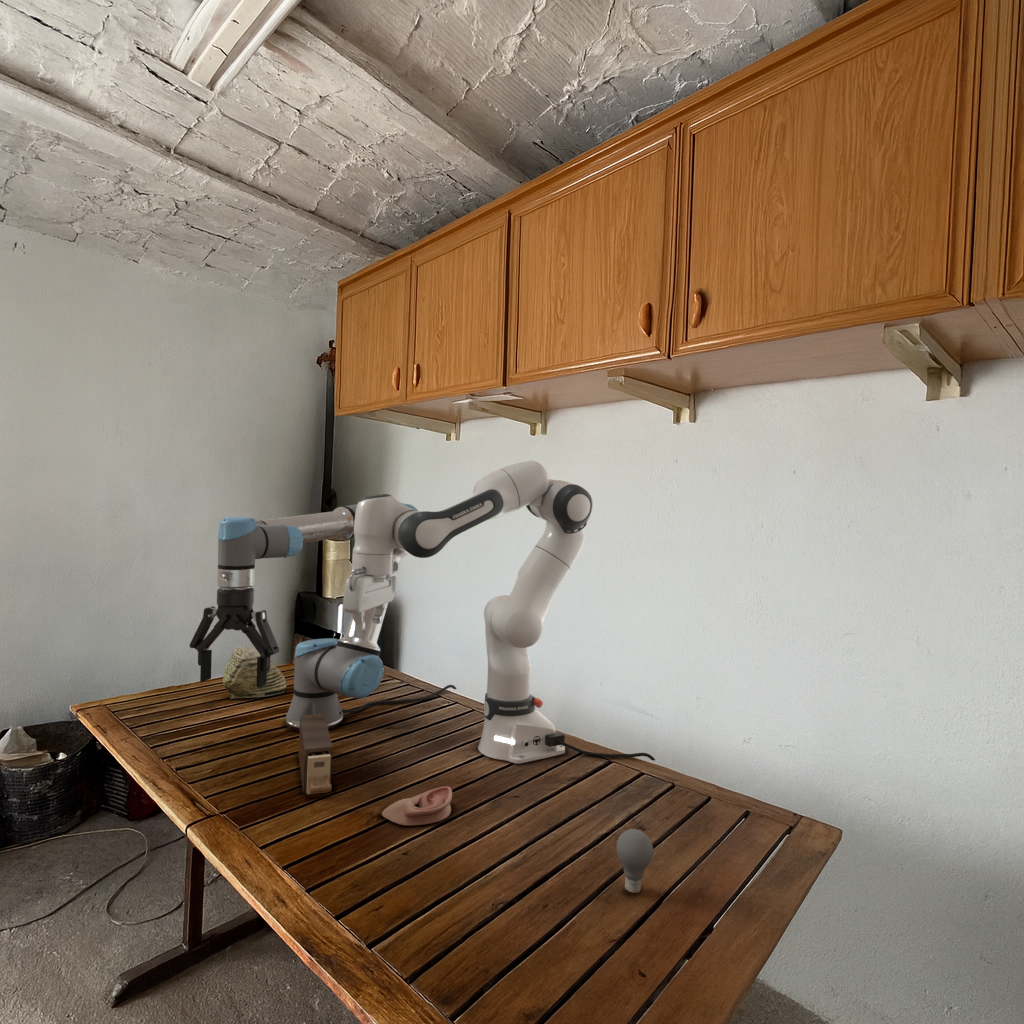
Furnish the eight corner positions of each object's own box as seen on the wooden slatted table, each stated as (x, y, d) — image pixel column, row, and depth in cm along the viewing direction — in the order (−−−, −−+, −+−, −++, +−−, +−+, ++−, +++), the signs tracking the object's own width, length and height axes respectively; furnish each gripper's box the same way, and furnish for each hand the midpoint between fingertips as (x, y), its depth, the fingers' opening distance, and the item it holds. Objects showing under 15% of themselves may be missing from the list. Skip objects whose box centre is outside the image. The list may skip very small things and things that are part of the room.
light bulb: (610, 879, 108) (613, 822, 108) (644, 879, 109) (647, 822, 109) (619, 902, 102) (622, 840, 102) (655, 901, 103) (658, 840, 103)
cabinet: (330, 790, 137) (332, 746, 137) (303, 793, 135) (304, 749, 135) (322, 751, 157) (324, 713, 157) (298, 753, 155) (299, 715, 155)
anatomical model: (375, 801, 124) (398, 776, 135) (375, 821, 124) (397, 795, 136) (440, 811, 122) (457, 785, 133) (439, 831, 122) (456, 803, 133)
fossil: (218, 695, 195) (220, 647, 195) (278, 685, 208) (279, 640, 207) (228, 703, 189) (230, 653, 188) (289, 692, 201) (290, 645, 201)
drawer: (331, 805, 128) (333, 768, 128) (308, 808, 127) (310, 770, 127) (321, 754, 153) (322, 722, 153) (302, 756, 152) (303, 724, 151)
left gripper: (173, 586, 138) (171, 682, 139) (278, 593, 134) (276, 693, 134) (196, 581, 145) (194, 673, 146) (296, 588, 141) (294, 682, 142)
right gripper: (365, 571, 132) (361, 637, 132) (401, 563, 152) (398, 620, 152) (337, 568, 133) (333, 634, 133) (377, 561, 153) (374, 618, 153)
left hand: (233, 683), depth 140 cm, fingers open, 13 cm apart
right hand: (368, 626), depth 143 cm, fingers open, 8 cm apart
